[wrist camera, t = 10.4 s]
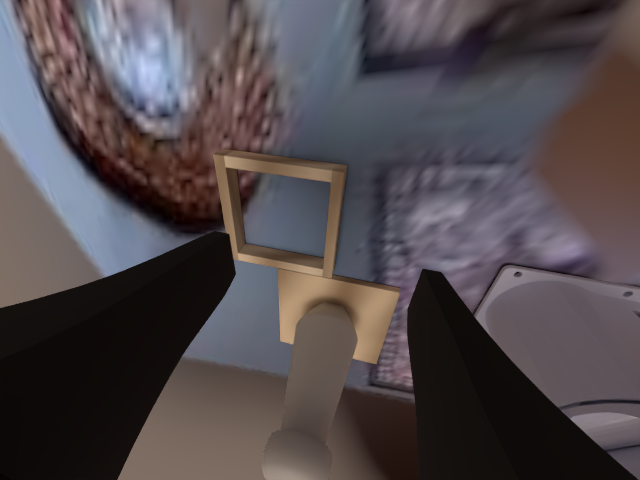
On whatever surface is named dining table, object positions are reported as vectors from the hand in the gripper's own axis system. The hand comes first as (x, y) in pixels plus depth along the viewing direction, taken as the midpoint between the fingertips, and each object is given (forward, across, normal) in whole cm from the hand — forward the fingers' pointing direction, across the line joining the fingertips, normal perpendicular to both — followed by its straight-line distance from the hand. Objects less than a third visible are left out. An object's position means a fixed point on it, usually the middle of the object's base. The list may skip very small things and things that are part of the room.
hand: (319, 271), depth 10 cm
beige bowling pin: (+10, 0, +14) cm, 17 cm away
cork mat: (+10, 0, +15) cm, 18 cm away
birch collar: (+10, +5, +4) cm, 12 cm away
